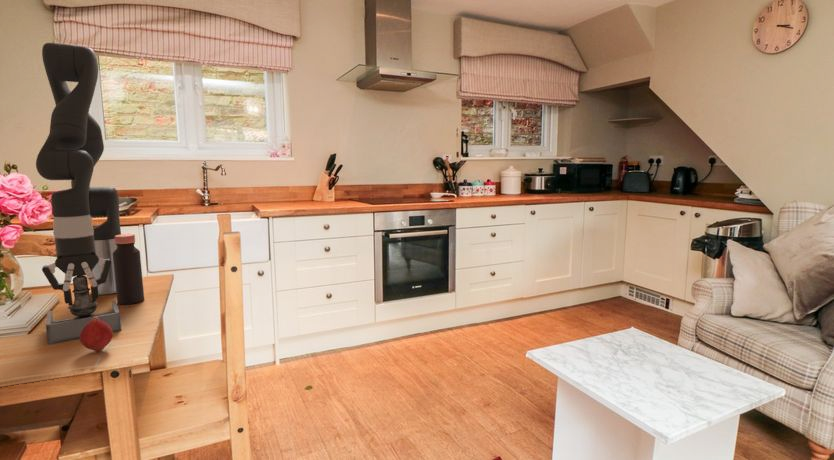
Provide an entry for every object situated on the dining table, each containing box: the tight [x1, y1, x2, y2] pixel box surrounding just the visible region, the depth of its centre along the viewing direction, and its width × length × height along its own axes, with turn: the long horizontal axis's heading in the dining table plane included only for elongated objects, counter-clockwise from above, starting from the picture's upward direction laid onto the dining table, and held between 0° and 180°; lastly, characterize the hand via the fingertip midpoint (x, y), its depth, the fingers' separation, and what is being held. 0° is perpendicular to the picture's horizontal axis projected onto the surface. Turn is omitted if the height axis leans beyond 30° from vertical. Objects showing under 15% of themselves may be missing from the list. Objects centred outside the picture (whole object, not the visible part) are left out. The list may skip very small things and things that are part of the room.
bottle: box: [113, 233, 145, 306], centre depth 131 cm, size 7×7×20 cm
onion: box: [79, 317, 114, 353], centre depth 98 cm, size 6×6×8 cm
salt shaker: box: [67, 275, 98, 320], centre depth 109 cm, size 6×6×12 cm
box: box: [45, 300, 122, 345], centre depth 110 cm, size 12×14×4 cm
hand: (82, 302), depth 110 cm, fingers closed on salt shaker, 4 cm apart
